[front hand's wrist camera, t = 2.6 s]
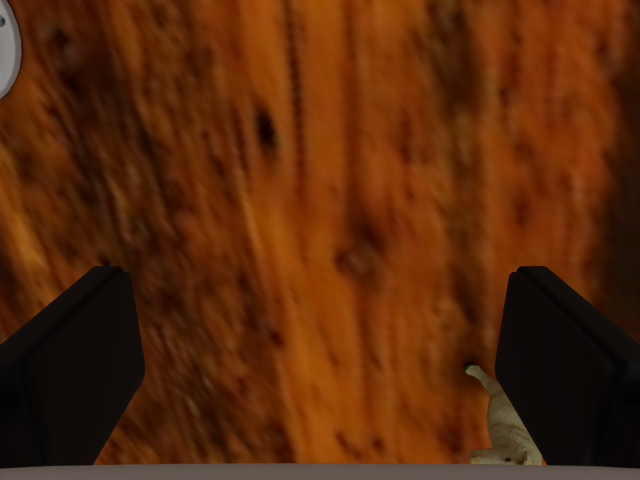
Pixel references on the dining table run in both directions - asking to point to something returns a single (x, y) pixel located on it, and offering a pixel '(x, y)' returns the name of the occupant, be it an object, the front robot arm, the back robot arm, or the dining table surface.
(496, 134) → the dining table surface
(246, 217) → the dining table surface
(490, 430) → the toy
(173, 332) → the dining table surface
